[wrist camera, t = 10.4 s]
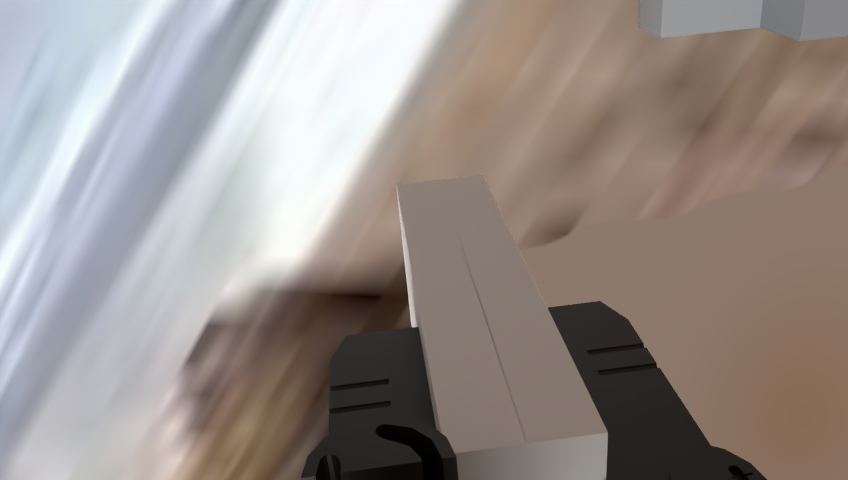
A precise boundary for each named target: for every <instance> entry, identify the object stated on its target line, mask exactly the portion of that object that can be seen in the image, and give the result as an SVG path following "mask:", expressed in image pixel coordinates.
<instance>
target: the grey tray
mask: <svg viewBox="0 0 848 480" xmlns="http://www.w3.org/2000/svg"><path fill="white" fill-rule="evenodd" d="M638 27H639V28H641V29H643V30H645V31H647V32H649V33H652V34H654V35H656V36H658V37H660V38H664V37H674V36H683V35H693V34H702V33H711V32H721V31H730V30H740V29H749V28H758V27H760V28H763V29H766V30H769V31H772V32H775V33H778V34H781V35H783V36H786V37H789V38H792V39H795V40H798V41H805V40H814V39H824V38H833V37H842V36H848V0H640V1H639V22H638Z"/></svg>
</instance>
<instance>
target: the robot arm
mask: <svg viewBox="0 0 848 480" xmlns="http://www.w3.org/2000/svg"><path fill="white" fill-rule="evenodd" d="M396 187H397V196H398V205H399V214H400V224H401V233H402V242H403V252H404V261H405V270H406V279H407V289H408V298H409V307H410V317H411V324H412V328H404V329H396V330H388V331H380V332H372V333H364V334H356V335H348V336H346V337H345V338H344V340H343V341H342V343H341V344H340V346H339V347H338V349H337V351H336V352H335V354H334V355H333V357H332V358H331V360H330V392H329V412H330V414H329V433H328V436H326V437H325V438H324V439H323V440H322V441H321V442H320V443H319V444H318V445H317V447H316V448H315V449H314V450H313V451H312V452H311V453H310V454H309V456H308V458H307V461H306V464H305V467H304V470H303V473H302V476H301V480H767V479H766V478H765V477H764V476H763V475H761V473H760V472H759V471H758V470H757V469H756V468H755V467H754V466H753V465H752V464H751V463H749V462H747V461H745V460H744V459H742V458H740V457H738V456H736V455H734V454H733V453H731V452H729V451H727V450H725V449H721V448H718V447H713V446H711V445H710V444H709V442H708V441H707V439H706V438H705V436H704V434H703V433H702V431H701V430H700V428H699V427H698V425H697V424H696V422H695V421H694V420H693V418H692V416H691V415H690V413H689V412H688V410H687V409H686V407H685V406H684V404H683V403H682V401H681V399H680V398H679V397H678V395H677V393H676V392H675V390H674V389H673V387H672V386H671V384H670V383H669V381H668V380H667V378H666V377H665V375H664V374H663V372H662V371H661V369H660V368H657V365H656V362H655V360H654V358H653V357H652V355H651V354H650V353H649V351H648V349H647V348H644V345H643V342H642V340H641V339H640V337H639V336H638V334H637V333H636V331H635V330H634V328H633V327H632V325H631V323H630V322H629V320H628V319H626V318H625V317H623V316H622V315H620V314H619V313H617V312H616V311H614V310H612V309H611V308H610V307H608V306H607V305H605V304H604V303H602V302H600V301H597V302H589V303H581V304H573V305H566V306H557V307H549V308H547V306H546V304H545V302H544V300H543V298H542V296H541V294H540V291H539V290H538V287H537V285H536V283H535V281H534V279H533V277H532V275H531V273H530V271H529V269H528V267H527V265H526V263H525V261H524V258H523V257H522V254H521V252H520V250H519V248H518V246H517V244H516V242H515V240H514V238H513V236H512V234H511V232H510V230H509V228H508V226H507V223H506V221H505V219H504V217H503V215H502V213H501V211H500V209H499V207H498V205H497V203H496V201H495V199H494V197H493V195H492V193H491V191H490V188H489V186H488V184H487V182H486V180H485V178H484V176H483V175H477V176H468V177H459V178H451V179H442V180H433V181H425V182H416V183H407V184H399V185H396Z"/></svg>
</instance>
